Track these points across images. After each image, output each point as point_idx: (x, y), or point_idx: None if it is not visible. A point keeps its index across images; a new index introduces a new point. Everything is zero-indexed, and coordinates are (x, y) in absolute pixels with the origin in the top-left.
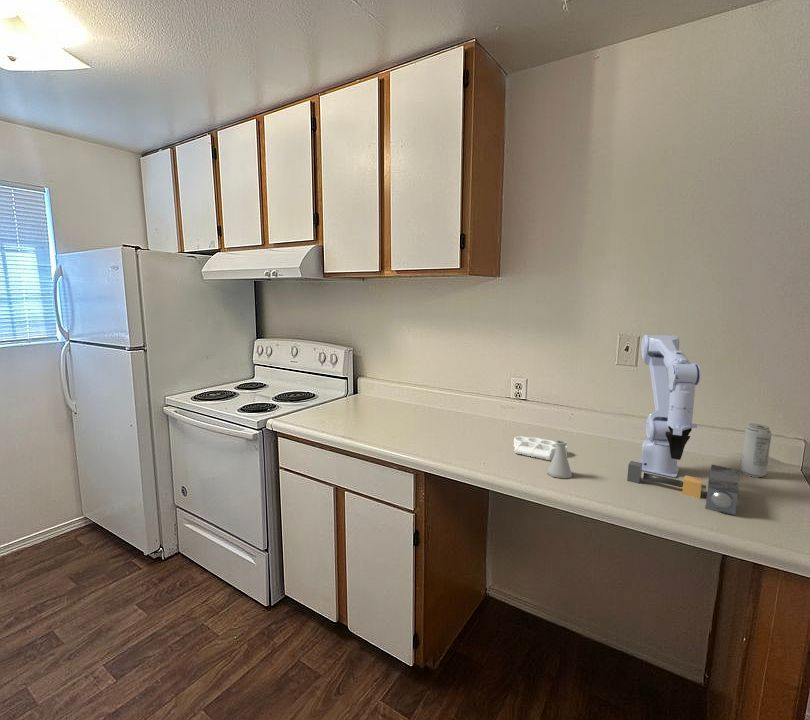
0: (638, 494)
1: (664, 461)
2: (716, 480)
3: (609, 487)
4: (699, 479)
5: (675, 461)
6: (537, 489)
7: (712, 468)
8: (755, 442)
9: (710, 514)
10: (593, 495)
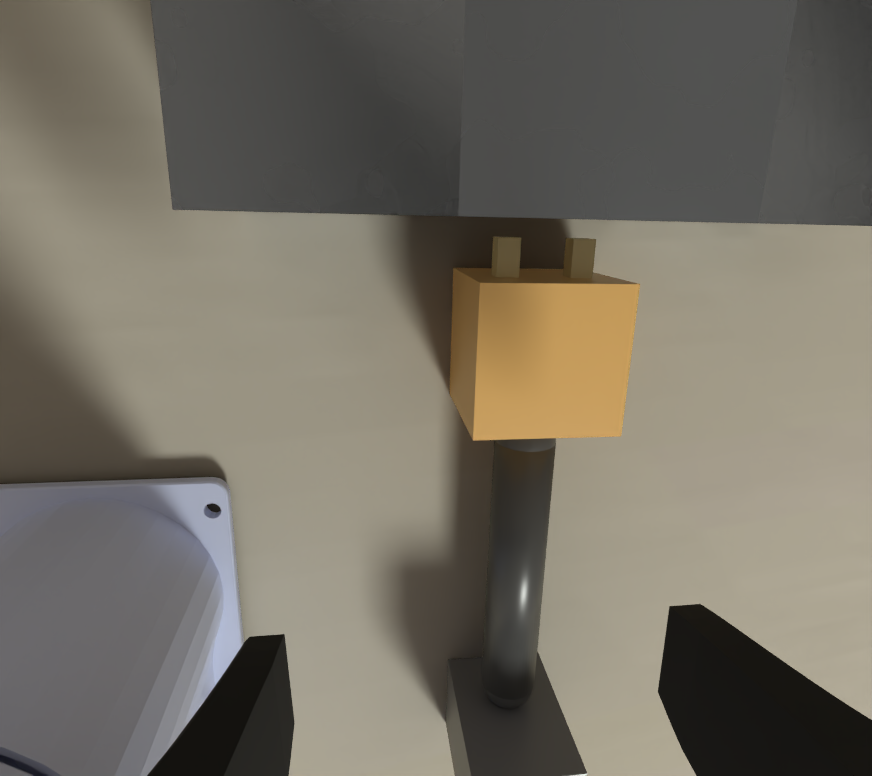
0: (730, 612)
1: (187, 657)
2: (840, 140)
3: None
4: (516, 310)
5: (92, 578)
6: None
7: (367, 193)
8: None
9: None
10: None
